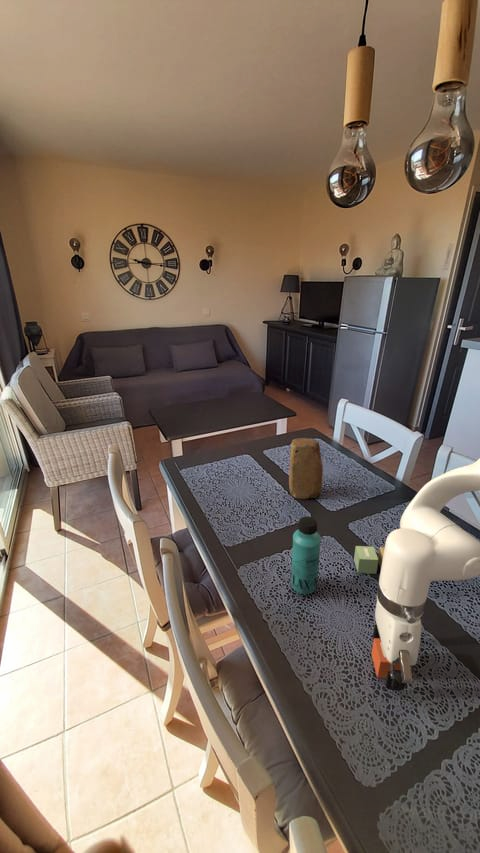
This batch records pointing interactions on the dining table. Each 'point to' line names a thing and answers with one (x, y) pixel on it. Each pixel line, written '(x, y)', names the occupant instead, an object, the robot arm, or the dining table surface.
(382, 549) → the tan wooden toy cube
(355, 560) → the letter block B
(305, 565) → the beverage bottle
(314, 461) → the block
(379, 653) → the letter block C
